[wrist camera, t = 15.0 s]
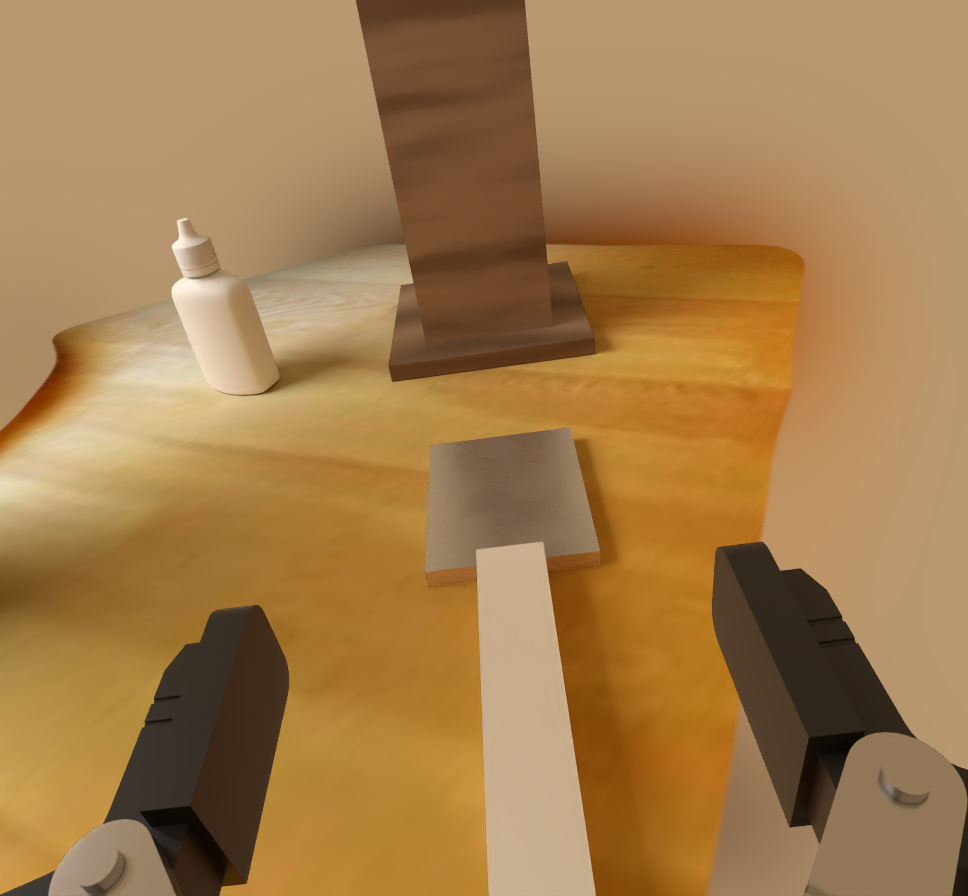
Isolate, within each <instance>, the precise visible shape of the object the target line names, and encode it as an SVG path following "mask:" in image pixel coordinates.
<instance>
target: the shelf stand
mask: <svg viewBox="0 0 968 896" xmlns="http://www.w3.org/2000/svg"><path fill="white" fill-rule="evenodd" d="M356 3H357V8H358V12H359V18H360V23H361V28H362V32H363V38H364V42H365V47H366V52H367V57H368V62H369V67H370V72H371V76H372V82H373V87H374V91H375V96H376V101H377V106H378V111H379V116H380V121H381V126H382V131H383V135H384V140H385V145H386V150H387V155H388V160H389V165H390V170H391V175H392V180H393V185H394V189H395V194H396V199H397V204H398V209H399V214H400V218H401V224H402V229H403V233H404V238H405V243H406V248H407V253H408V258H409V263H410V268H411V273H412V278H413V284H406V285H401V289H400V295H399V302H398V308H397V315H396V321H395V328H394V334H393V341H392V347H391V354H390V360H389V370H390V374H391V378H392V381H399V380H406V379H413V378H421V377H428V376H435V375H443V374H450V373H457V372H465V371H472V370H479V369H486V368H494V367H501V366H508V365H516V364H523V363H530V362H538V361H545V360H552V359H560V358H567V357H574V356H582V355H589V354H595V341H594V336H593V333H592V330H591V327H590V324H589V321H588V319H587V316H586V313H585V310H584V307H583V305H582V302H581V299H580V296H579V293H578V291H577V288H576V285H575V282H574V279H573V277H572V274H571V271H570V268H569V265H568V262H560V263H553V264H547V253H546V242H545V230H544V218H543V207H542V196H541V184H540V172H539V160H538V150H537V137H536V126H535V114H534V103H533V92H532V81H531V69H530V57H529V46H528V34H527V22H526V11H525V0H356Z"/></svg>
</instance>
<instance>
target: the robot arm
mask: <svg viewBox="0 0 968 896" xmlns="http://www.w3.org/2000/svg"><path fill="white" fill-rule="evenodd" d="M712 617H713V624H714V629H715V633H716V637H717V640H718V643H719V646H720V648H721V651H722V654H723V656H724V659H725V661H726V664H727V666H728V669H729V672H730V674H731V677H732V679H733V682H734V685H735V687H736V690H737V692H738V695H739V698H740V700H741V703H742V705H743V708H744V711H745V713H746V716H747V718H748V721H749V723H750V726H751V729H752V731H753V734H754V736H755V739H756V741H757V744H758V746H759V749H760V752H761V755H762V757H763V760H764V762H765V765H766V767H767V770H768V772H769V775H770V778H771V780H772V783H773V786H774V788H775V791H776V793H777V796H778V799H779V801H780V804H781V806H782V809H783V812H784V814H785V817H786V819H787V822H788V824H789V827H797V826H806V825H812V827H813V829H814V832H815V834H816V837H817V839H818V842H819V844H820V846H819V849H818V853H817V856H816V859H815V862H814V866H813V869H812V872H811V875H810V878H809V881H808V885H807V887H806V889H805V892H804V895H803V896H968V770H966V769H964V768H961V767H958V766H956V765H954V764H952V763H950V762H949V761H948V760H947V759H946V758H945V757H944V756H943V755H942V754H940V753H939V752H938V751H936V750H935V749H934V748H932V747H930V746H929V745H927V744H926V743H924V742H922V741H920V740H918V739H917V738H916V737H915V736H914V735H913V734H912V733H911V731H910V730H909V729H908V727H907V725H906V724H905V723H904V721H903V719H902V717H901V716H900V714H899V712H898V711H897V709H896V707H895V705H894V704H893V702H892V700H891V699H890V697H889V695H888V694H887V692H886V690H885V689H884V687H883V685H882V683H881V682H880V680H879V678H878V677H877V675H876V673H875V671H874V670H873V668H872V666H871V665H870V663H869V661H868V660H867V658H866V656H865V654H864V653H863V651H862V649H861V648H860V646H859V644H858V643H856V642H855V638H854V636H853V634H852V632H851V631H850V629H849V627H848V625H847V624H846V622H845V621H844V622H843V620H842V615H841V613H840V612H839V610H838V608H837V607H836V605H835V603H834V602H833V600H832V598H831V596H830V595H829V593H828V591H827V590H826V589H825V588H824V587H823V586H821V585H820V584H819V583H818V582H817V581H815V580H814V579H813V578H812V577H810V576H809V575H808V574H806V573H805V572H804V571H803V570H802V569H792V570H784V571H780V570H779V568H778V566H777V564H776V562H775V560H774V558H773V556H772V554H771V553H770V551H769V549H768V547H767V546H766V545H765V544H764V543H763V542H755V543H747V544H739V545H732V546H724V547H718V548H717V550H716V553H715V566H714V582H713V597H712ZM288 690H289V672H288V666H287V662H286V659H285V656H284V654H283V652H282V650H281V647H280V645H279V643H278V641H277V639H276V637H275V635H274V633H273V630H272V628H271V626H270V624H269V622H268V620H267V618H266V615H265V613H264V611H263V610H262V608H261V607H260V606H259V605H252V606H244V607H236V608H229V609H221V610H215V611H213V613H212V614H211V615H210V617H209V619H208V622H207V624H206V627H205V630H204V633H203V636H202V638H201V641H200V643H192V644H186V645H185V646H184V648H183V649H182V650H181V651H180V652H179V654H178V655H177V656H176V657H175V659H174V660H173V661H172V662H171V664H170V665H169V666H168V667H167V668H166V670H165V671H164V674H163V676H162V679H161V682H160V684H159V687H158V689H157V692H156V694H155V697H154V704H151V707H150V709H149V712H148V714H147V717H146V719H145V727H143V728H142V730H141V732H140V735H139V737H138V740H137V742H136V745H135V747H134V750H133V752H132V755H131V757H130V760H129V762H128V765H127V767H126V770H125V772H124V775H123V777H122V780H121V783H120V785H119V788H118V790H117V793H116V795H115V798H114V800H113V803H112V805H111V808H110V810H109V813H108V815H107V817H106V819H105V821H104V823H103V825H101V826H99V827H97V828H95V829H94V830H92V831H90V832H89V833H87V834H86V835H85V836H84V837H82V838H81V839H80V840H79V841H78V842H77V843H76V844H75V845H74V846H73V847H72V848H71V849H70V850H69V851H68V852H67V853H66V855H65V856H64V858H63V859H62V860H61V862H60V863H59V865H58V867H57V869H56V870H55V871H53V872H51V873H49V874H47V875H45V876H42V877H40V878H38V879H36V880H33V881H31V882H29V883H26V884H24V885H22V886H20V887H17V888H15V889H13V890H10V891H8V892H6V893H4V894H1V895H0V896H219V895H220V891H221V887H222V886H231V885H240V884H247V879H248V875H249V870H250V866H251V861H252V856H253V852H254V847H255V843H256V838H257V834H258V829H259V824H260V820H261V815H262V811H263V806H264V801H265V797H266V792H267V788H268V783H269V779H270V774H271V769H272V765H273V760H274V756H275V751H276V747H277V742H278V737H279V733H280V728H281V724H282V719H283V714H284V710H285V705H286V701H287V696H288Z"/></svg>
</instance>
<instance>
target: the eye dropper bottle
mask: <svg viewBox="0 0 968 896" xmlns="http://www.w3.org/2000/svg"><path fill="white" fill-rule="evenodd" d="M177 225H178V230H179V239H178V241H176V242H175V243H174V244H173V245H172V249H173V252H174V254H175V256H176V259H177V262H178V264H179V267H180V269H181V272H182V274H183V276H185V277H184V278H182V279H180V280H179V281H178V282H176V284H174V286H173V288H172V297H173V301H174V303H175V306H176V309H177V311H178V314H179V316H180V319H181V321H182V323H183V326H184V328H185V331H186V333H187V335H188V338H189V340H190V343H191V345H192V348H193V350H194V352H195V355H196V357H197V359H198V362H199V364H200V367H201V369H202V371H203V374H204V376H205V379H206V381H207V383H208V384H209V385H210V386H211V387H212V388H214V389H216V390H218V391H220V392H223V393H227V394H233V395H251V394H259V393H262V392H264V391H266V390H267V389H268V388H270V387H271V386H272V385H273V384H275V383H276V382H277V381H278V380H279V378H280V375H279V372H278V369H277V366H276V363H275V360H274V357H273V354H272V351H271V349H270V346H269V343H268V340H267V337H266V334H265V331H264V329H263V326H262V323H261V320H260V317H259V314H258V312H257V309H256V306H255V303H254V301H253V298H252V295H251V293H250V290H249V288H248V286H247V285H246V283H245V282H244V281H242V280H241V279H240V278H238V277H237V276H235V275H234V274H232V273H230V272H228V271H225V270H223V269H221V268H219V267H220V264H219V261H218V258H217V256H216V253H215V250H214V247H213V245H212V242H211V239H210V237H209V236H207V235H202V234H198V233H197V232H196V231H195V230H194V228H193V226H192V225H191V223H190V221H189V220H188V219H187V218H184V219H180V220H178V221H177Z"/></svg>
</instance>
